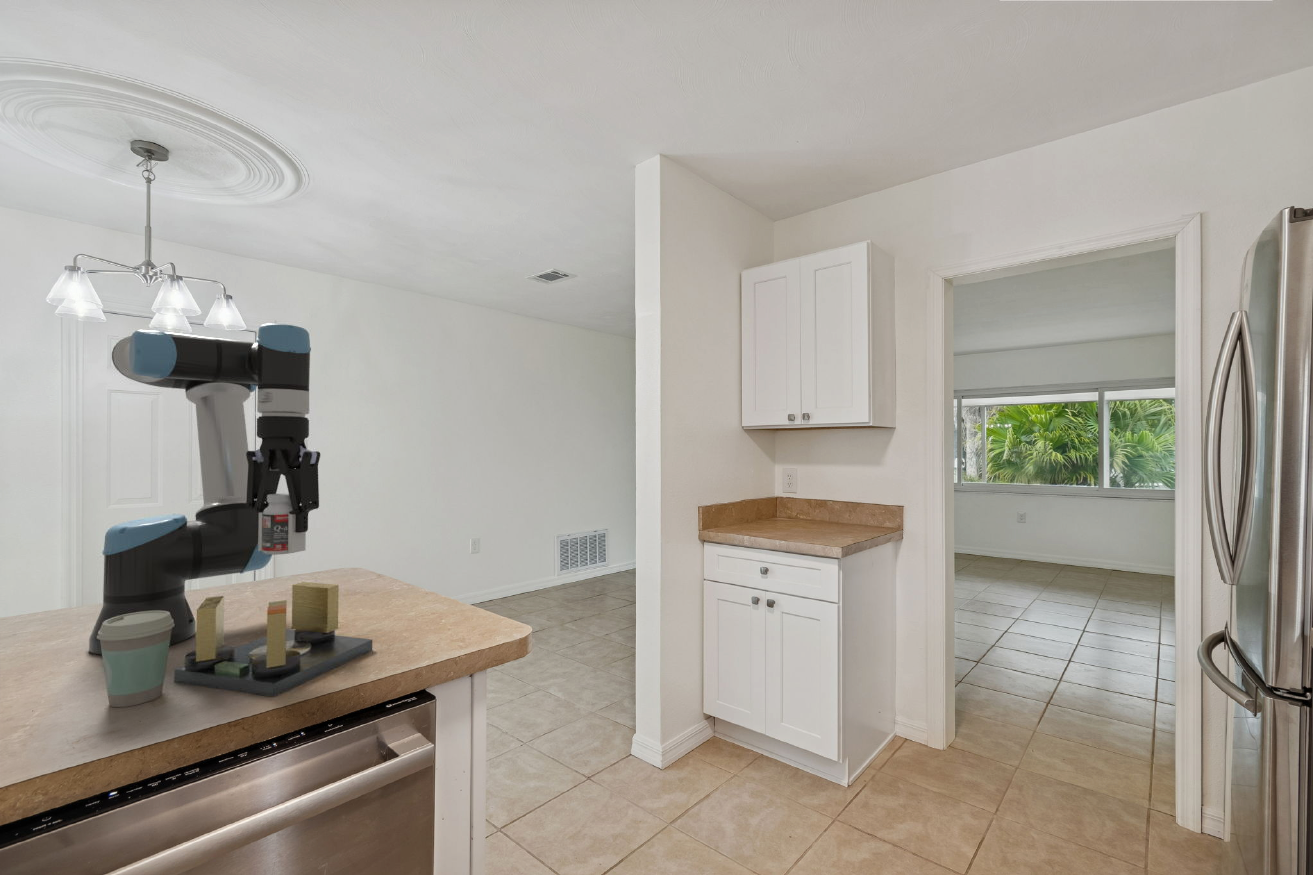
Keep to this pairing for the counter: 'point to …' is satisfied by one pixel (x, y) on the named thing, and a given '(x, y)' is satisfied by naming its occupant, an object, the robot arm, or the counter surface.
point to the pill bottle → (276, 524)
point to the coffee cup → (135, 656)
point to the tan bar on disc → (276, 647)
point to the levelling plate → (311, 666)
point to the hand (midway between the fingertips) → (281, 550)
